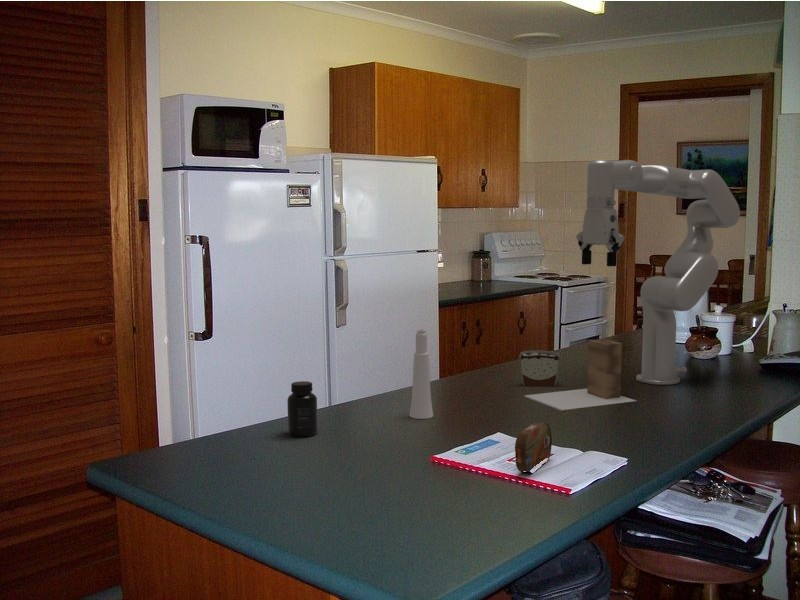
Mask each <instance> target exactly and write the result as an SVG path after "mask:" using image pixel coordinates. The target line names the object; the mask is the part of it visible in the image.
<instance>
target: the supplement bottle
mask: <svg viewBox="0 0 800 600" xmlns="http://www.w3.org/2000/svg"><path fill="white" fill-rule="evenodd" d="M290 387H291V389H290V391H291V394H290V395H289V396H288V397H287V401H286V402H287V428H288V429H287V431H288V435H289V436H291V437H295V438H296V437H297V438H306V437H307V438H308V437H312V436H315V435H316V434H317V433H318V425H319V424H318V423H319V422H318V399H317V396H316V395H315V394H314V392H313V391H314V390H313V382H312V381H307V380H303V381H295V382H292V383H291V386H290Z"/></svg>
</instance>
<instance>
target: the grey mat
mask: <svg viewBox="0 0 800 600" xmlns="http://www.w3.org/2000/svg"><path fill="white" fill-rule="evenodd" d="M524 398H525V399H526V398H527V399H529V400H531V401H534V402H537V403H539V404H542V405H545V406H547V407H549V408H553V409H555V410H558V411H561V412H565V410H566V411H568V410H575V409H576V410H577V409H581V408H591V407H599V406H607V405H616V404H624V403H631V402H637V400H636V399H632V398H629V397H628V396H627V397H626V396H622V395H620V398H612V399H603V398H600V397H597V396H594V395H591V394H588V393H587V388H580V389H579V388H578V389H572V390H563V391H562V390H560V391H553V392H544V393H542V392H541V393H536V394H527V395H524Z"/></svg>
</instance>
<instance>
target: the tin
mask: <svg viewBox="0 0 800 600" xmlns="http://www.w3.org/2000/svg"><path fill="white" fill-rule="evenodd" d="M552 440H553V436H552V431H551V428H550V425H549V424H548V423H547V422H533V423H531V424H530V425H528V426H527V427H526V428H524V429H523V430H521V431H520V432H519V433H518V435H517V436H516V439H515V443H514V451H515V452H514V453H515V454H514V455H515V466H516V469H517V470H518V472H520V471H526V472H530V470H531V469H532V468H533V467H534V466H536V465H537V464H539V463H540V462H541V461H543V460H544V459H545V458H549V459H550V457H551V453H552V448H553V447H552V442H553V441H552Z"/></svg>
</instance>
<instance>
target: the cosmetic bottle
mask: <svg viewBox="0 0 800 600" xmlns="http://www.w3.org/2000/svg"><path fill="white" fill-rule="evenodd" d="M426 331H427V329H424V328H419V329H417V330H416V333H415V352H414V353H413V367H412V370H413V372H412V392H411V404H410V411H409V414H408V415H409V417H410V418H411V419H414V420H415V419H416V420H428V419H431V418H433V417H434V412H433V404H432V394H431V378H430V377H431V376H430V371H431V370H430V358H429V357H430V356H429V355H430V354H429V352H428V339H427V338H428V334H427V333H426Z"/></svg>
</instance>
